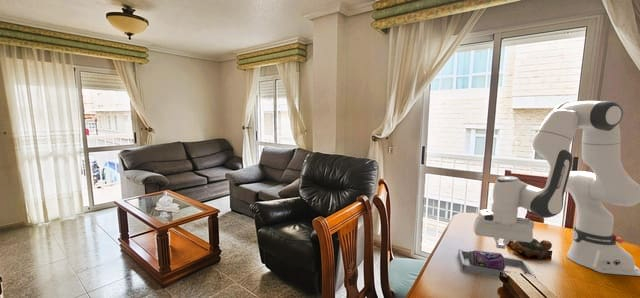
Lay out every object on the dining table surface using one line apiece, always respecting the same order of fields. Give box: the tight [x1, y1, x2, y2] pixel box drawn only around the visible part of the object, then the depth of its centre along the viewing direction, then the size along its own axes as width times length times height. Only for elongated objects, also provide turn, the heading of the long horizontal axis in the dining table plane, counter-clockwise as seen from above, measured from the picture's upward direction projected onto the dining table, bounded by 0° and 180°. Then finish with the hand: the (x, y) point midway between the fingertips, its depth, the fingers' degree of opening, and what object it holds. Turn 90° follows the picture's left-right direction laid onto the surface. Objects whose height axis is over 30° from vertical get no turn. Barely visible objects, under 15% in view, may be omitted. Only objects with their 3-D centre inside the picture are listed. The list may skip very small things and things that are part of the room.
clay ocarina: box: [510, 238, 553, 260], centre depth 123 cm, size 10×15×8 cm, turn 73°
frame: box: [457, 249, 537, 279], centre depth 113 cm, size 25×13×2 cm, turn 70°
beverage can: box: [468, 249, 506, 271], centre depth 112 cm, size 7×7×12 cm
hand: (500, 247), depth 111 cm, fingers closed
